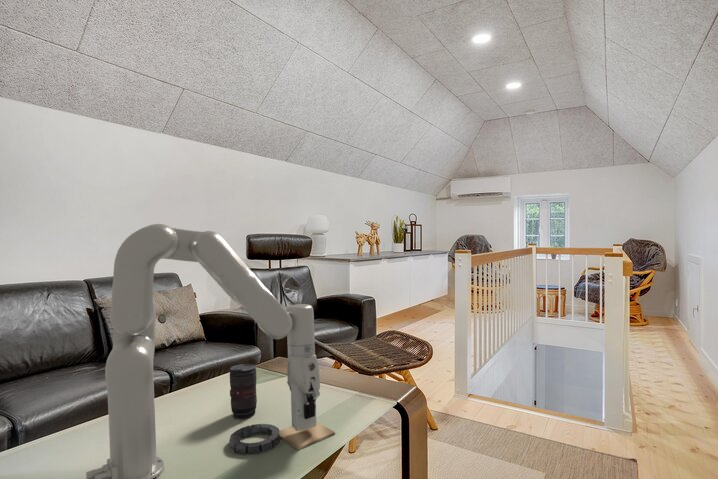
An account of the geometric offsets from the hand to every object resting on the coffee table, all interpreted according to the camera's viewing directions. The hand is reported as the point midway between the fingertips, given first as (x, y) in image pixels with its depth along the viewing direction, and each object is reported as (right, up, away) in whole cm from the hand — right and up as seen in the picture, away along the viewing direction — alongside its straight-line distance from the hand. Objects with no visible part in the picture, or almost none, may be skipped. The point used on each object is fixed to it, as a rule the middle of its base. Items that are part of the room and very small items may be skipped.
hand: (303, 413), depth 114 cm
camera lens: (-21, -7, +15) cm, 26 cm away
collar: (-13, -6, -3) cm, 15 cm away
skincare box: (0, -4, 0) cm, 4 cm away
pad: (0, -6, 0) cm, 6 cm away
